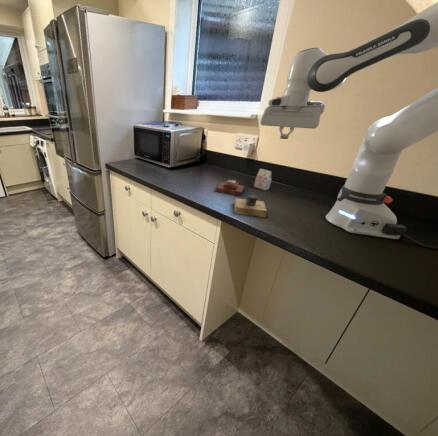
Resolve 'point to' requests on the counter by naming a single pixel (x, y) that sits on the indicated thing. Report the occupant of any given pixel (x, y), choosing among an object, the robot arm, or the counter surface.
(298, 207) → the counter surface
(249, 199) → the volume dial
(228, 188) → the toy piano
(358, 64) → the robot arm
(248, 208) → the volume panel
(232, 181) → the key
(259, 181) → the small white box
